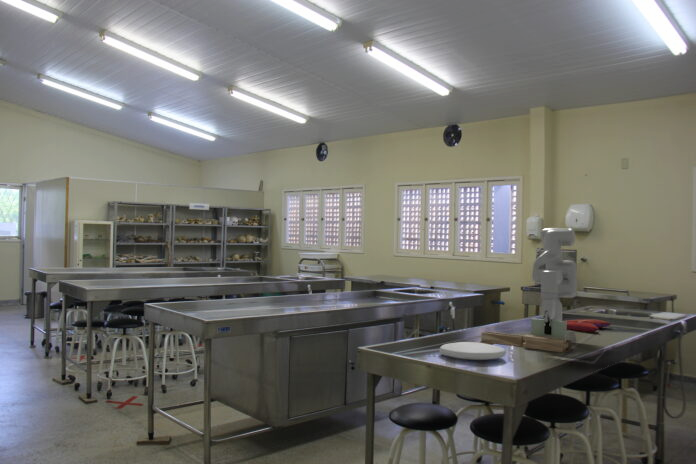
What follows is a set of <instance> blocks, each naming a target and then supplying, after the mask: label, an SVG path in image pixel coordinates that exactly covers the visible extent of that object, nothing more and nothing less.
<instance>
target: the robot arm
mask: <svg viewBox="0 0 696 464" xmlns="http://www.w3.org/2000/svg"><path fill="white" fill-rule="evenodd" d="M540 239H541V242H542V244H543V245H542V246H543V252H542V253H541V254H540V255H538V257H536V259H535V261H534V262H533V266H532V271H531V272H532V275H531V278H532V281H533V283H535V284H537V285H540V299H541V306H540V308H541V310H540V311H541V312H540V319H544V320H545V324H544V325H545V326H544V334H548V335H551V329H552V326H551V320H554V321H563V304H562V302H561V301H560V300H559V299H558V298H567V299H572V298H575V297H576V296H577V292H578V268H577V267H578V265H577V264H576V262H575V261H574V260H570V259H568V260H567V259H563V250H562V247H572V246H574V244H575V240H576V233H575V230H574V229H573V228H572V227H569V228H568V227H567V228H566V227H565V228H564V227H563V228H561V227H548V228H543V229H542V230H541V231H540ZM544 265H545V268H541V267H542V266H544ZM564 278H566V279H564Z"/></svg>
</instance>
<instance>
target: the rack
mask: <svg viewBox="0 0 696 464" xmlns="http://www.w3.org/2000/svg"><path fill="white" fill-rule="evenodd" d="M523 340H525V343H523V345H522V348H523V349H524V348H525V349H531V350H538V351H539V350H541V351H542V350H543V351H549V352H557V353H563V354H566V353H568V352H569V351H570V350H571V349H573V348H572V346H573V345H572V339H567V338H566V339H563V338H554V337H545V336H536V335H531V334H527V333H526V334H524V335H523Z"/></svg>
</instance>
